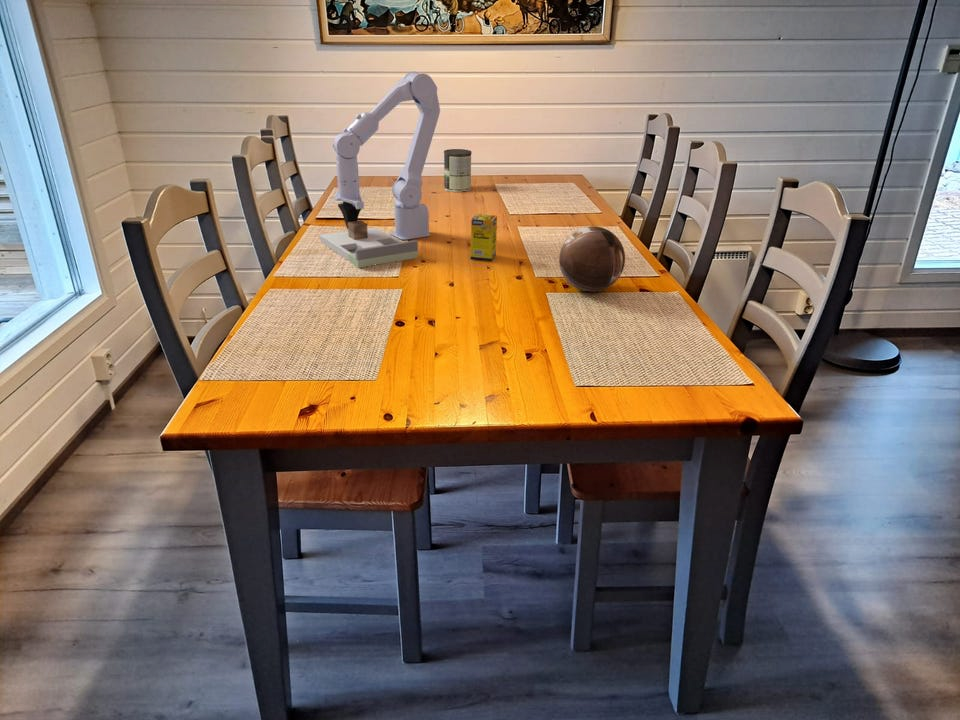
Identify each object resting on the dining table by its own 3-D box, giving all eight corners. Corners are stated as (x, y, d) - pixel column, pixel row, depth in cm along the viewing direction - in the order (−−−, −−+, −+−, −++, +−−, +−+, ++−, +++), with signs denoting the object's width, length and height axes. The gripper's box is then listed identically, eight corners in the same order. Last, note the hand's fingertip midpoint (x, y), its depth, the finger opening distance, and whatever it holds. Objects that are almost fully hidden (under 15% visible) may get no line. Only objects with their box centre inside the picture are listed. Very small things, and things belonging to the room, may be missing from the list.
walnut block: (361, 234, 185) (361, 220, 183) (367, 237, 182) (367, 223, 180) (348, 236, 183) (347, 222, 181) (354, 239, 180) (353, 225, 178)
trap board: (375, 234, 193) (374, 218, 191) (417, 257, 173) (417, 241, 171) (320, 242, 184) (318, 226, 182) (358, 268, 165) (357, 250, 163)
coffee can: (438, 189, 249) (438, 151, 242) (455, 185, 256) (455, 148, 250) (459, 193, 244) (460, 154, 237) (476, 189, 251) (477, 151, 245)
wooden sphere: (545, 283, 158) (550, 222, 152) (598, 276, 164) (605, 216, 157) (577, 305, 146) (584, 239, 139) (633, 296, 152) (642, 233, 145)
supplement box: (492, 261, 172) (493, 220, 167) (470, 259, 173) (470, 218, 168) (496, 255, 177) (497, 215, 173) (474, 253, 178) (475, 213, 174)
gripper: (324, 176, 182) (328, 224, 189) (344, 186, 172) (348, 237, 178) (348, 174, 186) (351, 221, 192) (369, 184, 175) (372, 233, 181)
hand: (351, 229), depth 185 cm, fingers closed
